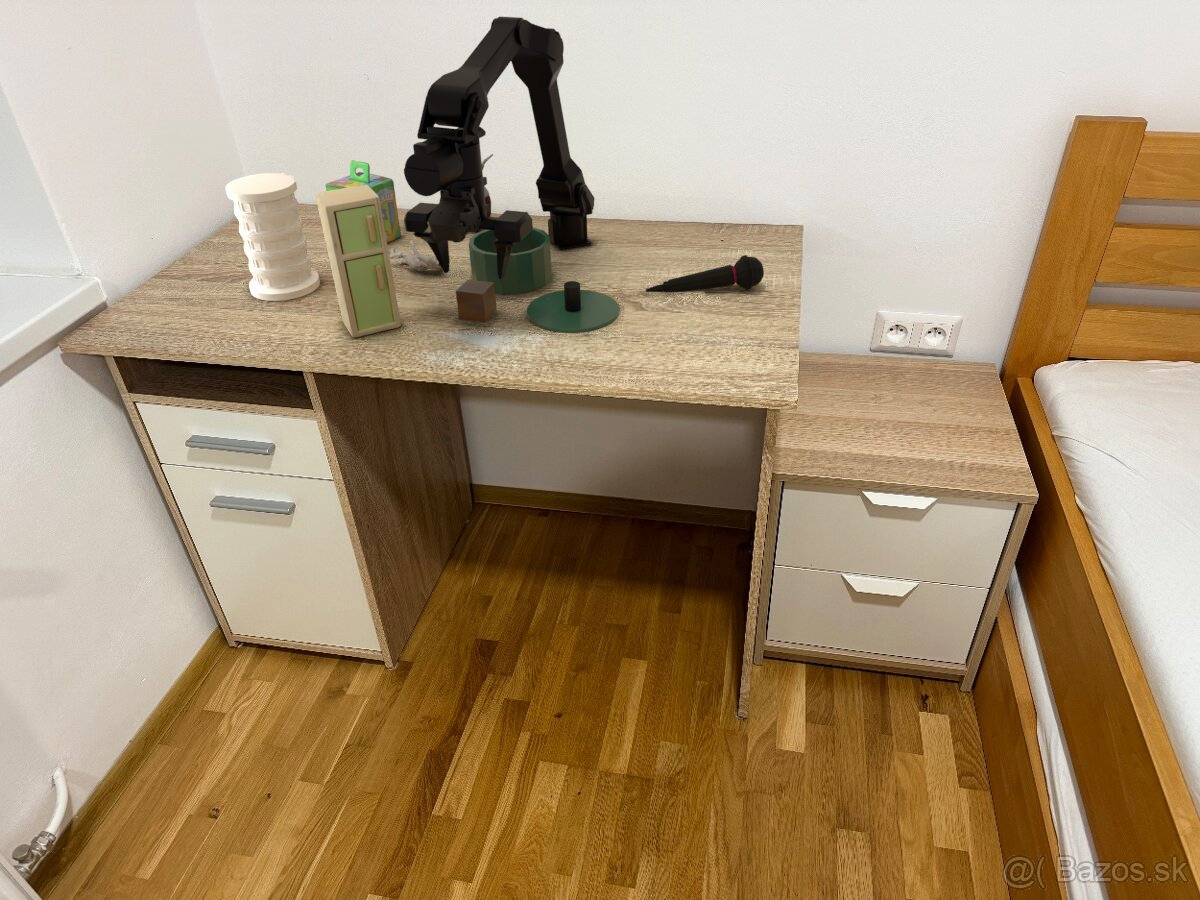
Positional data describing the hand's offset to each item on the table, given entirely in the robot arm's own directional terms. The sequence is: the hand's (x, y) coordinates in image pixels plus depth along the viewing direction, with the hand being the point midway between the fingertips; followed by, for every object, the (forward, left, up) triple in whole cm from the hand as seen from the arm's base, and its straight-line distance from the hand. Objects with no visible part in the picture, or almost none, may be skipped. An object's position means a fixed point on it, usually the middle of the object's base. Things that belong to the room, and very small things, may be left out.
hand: (473, 275), depth 134 cm
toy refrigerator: (+16, -5, -7) cm, 18 cm away
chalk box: (+8, -42, -8) cm, 43 cm away
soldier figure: (+3, -23, -8) cm, 24 cm away
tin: (-10, -11, -7) cm, 17 cm away
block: (0, 0, -7) cm, 7 cm away
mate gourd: (-13, -39, -7) cm, 42 cm away
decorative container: (+26, -27, -7) cm, 38 cm away
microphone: (-38, +7, -7) cm, 39 cm away
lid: (-14, +6, -7) cm, 17 cm away
